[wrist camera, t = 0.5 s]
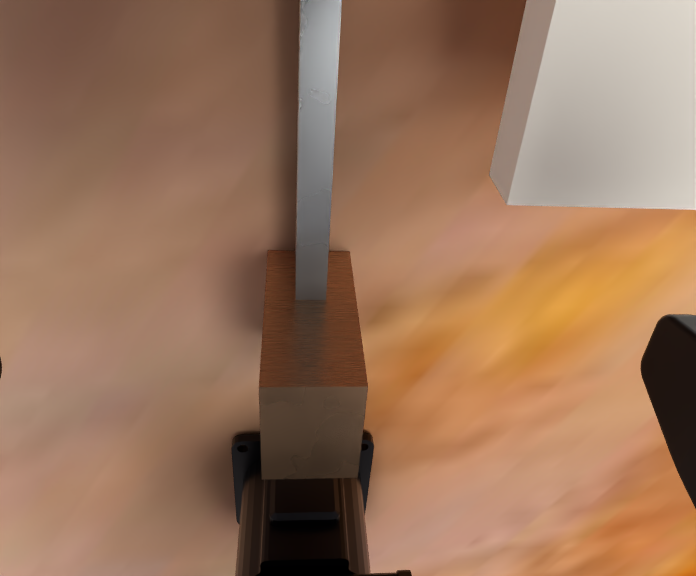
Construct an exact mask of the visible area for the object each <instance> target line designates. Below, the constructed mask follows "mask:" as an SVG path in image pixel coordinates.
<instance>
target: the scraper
mask: <svg viewBox="0 0 696 576" xmlns="http://www.w3.org/2000/svg"><path fill="white" fill-rule="evenodd" d="M341 6H342V0H299V50H298V115H297V181H296V246H295V251H275V250H268V258H267V273H266V288H265V303H264V318H263V334H262V349H261V364H260V379H259V406H260V438H261V471H262V480H263V479H313V478H358V470H359V461H360V453H361V444H362V435H363V426H364V418H365V409H366V400H367V392H368V383H367V375H366V368H365V361H364V353H363V346H362V339H361V331H360V324H359V317H358V309H357V302H356V295H355V288H354V280H353V273H352V266H351V258H350V252H340V251H329V234H330V215H331V196H332V177H333V158H334V139H335V120H336V101H337V82H338V63H339V44H340V25H341Z"/></svg>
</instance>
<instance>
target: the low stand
mask: <svg viewBox="0 0 696 576" xmlns="http://www.w3.org/2000/svg"><path fill="white" fill-rule="evenodd" d="M489 176H490V178H491V179H492V181H493V183H494V184H495V186H496V188H497V189H498V191H499V193H500V194H501V196H502V198H503V199H504V201H505V203H506V205H525V206H566V207H607V208H648V209H689V210H696V0H527V1H526V6H525V10H524V15H523V20H522V24H521V29H520V34H519V38H518V43H517V47H516V52H515V57H514V61H513V66H512V71H511V75H510V80H509V85H508V89H507V94H506V99H505V103H504V108H503V113H502V117H501V122H500V127H499V131H498V136H497V141H496V145H495V150H494V154H493V159H492V164H491V168H490V173H489Z"/></svg>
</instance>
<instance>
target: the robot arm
mask: <svg viewBox="0 0 696 576" xmlns="http://www.w3.org/2000/svg"><path fill="white" fill-rule="evenodd" d="M1 373H2V363H1V358H0V378H1ZM641 375H642V378H643V381H644V384H645V387H646V389H647V392H648V395H649V397H650V400H651V403H652V405H653V408H654V411H655V413H656V416H657V419H658V422H659V424H660V427H661V430H662V432H663V435H664V438H665V440H666V443H667V446H668V448H669V451H670V454H671V456H672V459H673V461H674V464H675V466H676V469H677V471H678V473H679V475H680V478H681V480H682V482H683V484H684V486H685V488H686V490H687V492H688V494H689V496H690V498H691V500H692V502H693V504H694V506H695V508H696V316H695V315H688V314H668V315H665V316H663V317H662V318H661V319H660V320H659V321H658V322H657V324H656V327H655V329H654V331H653V334H652V336H651V338H650V341H649V343H648V345H647V348H646V350H645V352H644V355H643V357H642V360H641ZM363 443H364V444H363ZM243 445H244V446H243ZM373 450H374V444H373V437H372V436H371V435H369V434H367V433H363V435H362V444H361V453H360V461H359V470H358V478H313V479H263V480H262V471H261V438H260V434H243V435H238V436H236V437H234V439H233V441H232V462H233V475H234V489H235V503H236V517H237V522H238V523H239V524H240V526H239V538H238V550H237V562H236V573H235V576H412V575H411V571H410V570H397V572H396V573H374V574H371V573H370V563H369V554H368V544H367V534H366V525H365V510H366V502H367V495H368V487H369V480H370V472H371V465H372V457H373Z"/></svg>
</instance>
